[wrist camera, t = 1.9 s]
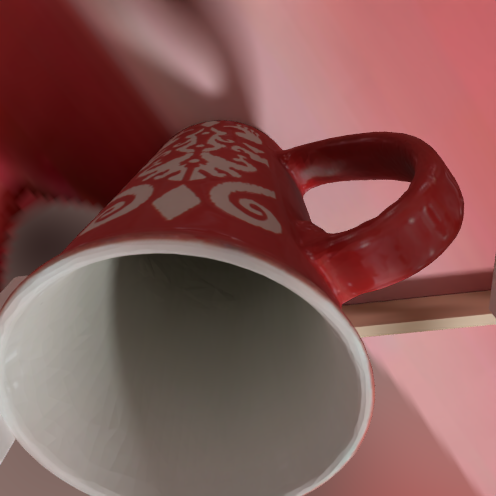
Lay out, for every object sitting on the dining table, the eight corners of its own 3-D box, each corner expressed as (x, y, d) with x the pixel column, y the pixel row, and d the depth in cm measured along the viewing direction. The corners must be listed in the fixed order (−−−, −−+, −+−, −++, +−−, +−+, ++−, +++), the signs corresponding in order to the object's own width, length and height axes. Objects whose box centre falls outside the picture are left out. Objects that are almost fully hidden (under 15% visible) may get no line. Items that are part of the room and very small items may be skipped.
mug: (198, 300, 26) (146, 559, 14) (91, 166, 22) (-105, 356, 10) (413, 189, 22) (590, 402, 10) (327, 10, 19) (447, 22, 7)
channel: (230, 327, 26) (226, 370, 23) (161, -21, 18) (142, -26, 15) (616, 288, 25) (668, 328, 22) (728, -115, 17) (835, -142, 14)
